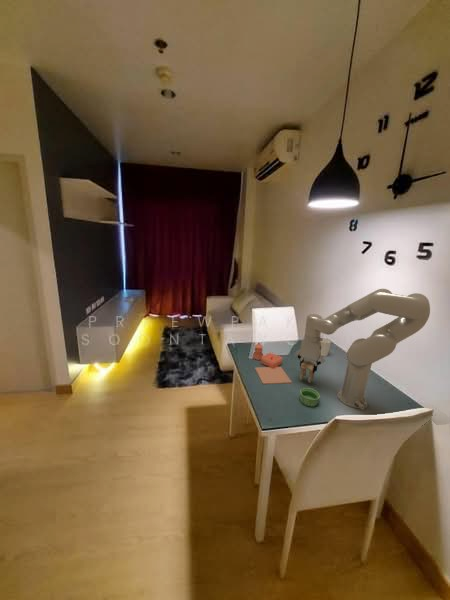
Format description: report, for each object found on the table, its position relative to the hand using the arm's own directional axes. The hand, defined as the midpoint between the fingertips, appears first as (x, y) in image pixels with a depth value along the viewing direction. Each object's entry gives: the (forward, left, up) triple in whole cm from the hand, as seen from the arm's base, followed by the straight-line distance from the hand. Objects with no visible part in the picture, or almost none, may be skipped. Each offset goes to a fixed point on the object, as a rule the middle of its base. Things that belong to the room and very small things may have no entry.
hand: (308, 369), depth 132 cm
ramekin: (-16, +6, -8) cm, 19 cm away
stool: (0, 0, -6) cm, 6 cm away
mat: (+7, +16, -8) cm, 20 cm away
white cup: (+31, -28, -8) cm, 43 cm away
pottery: (+23, +16, -8) cm, 29 cm away
